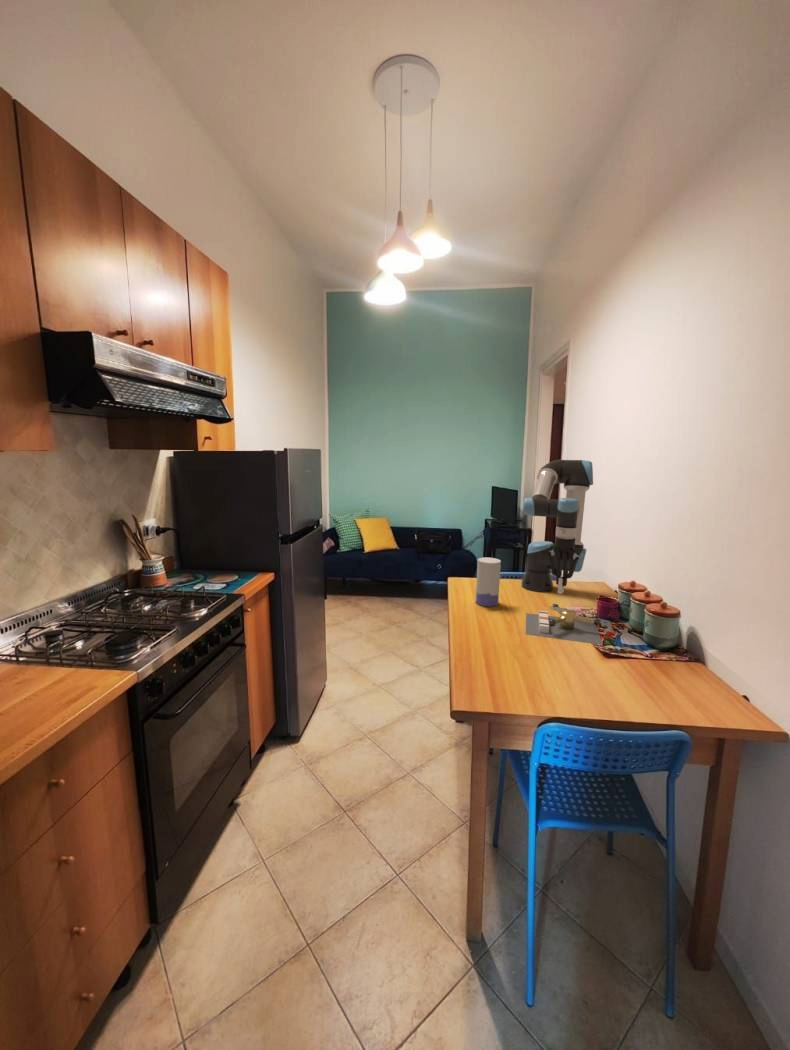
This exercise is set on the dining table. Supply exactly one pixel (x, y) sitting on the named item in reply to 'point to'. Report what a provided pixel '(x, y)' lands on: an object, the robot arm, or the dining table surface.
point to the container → (488, 581)
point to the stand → (561, 629)
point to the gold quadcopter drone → (569, 618)
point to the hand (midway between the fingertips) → (560, 592)
